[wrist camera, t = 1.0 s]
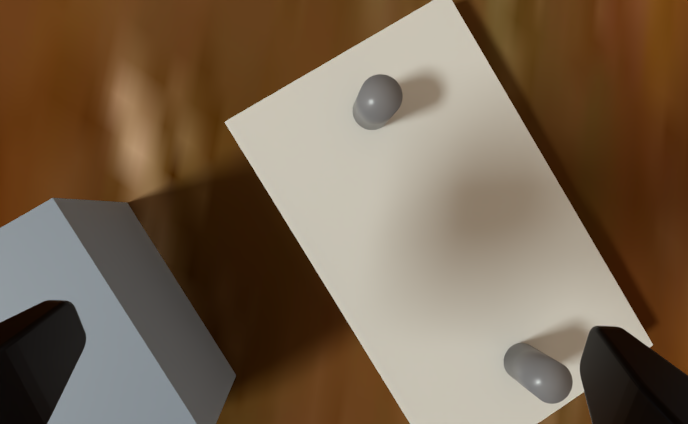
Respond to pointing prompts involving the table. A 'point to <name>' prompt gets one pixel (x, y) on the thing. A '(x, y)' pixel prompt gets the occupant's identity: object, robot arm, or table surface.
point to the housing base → (436, 224)
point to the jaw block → (114, 316)
